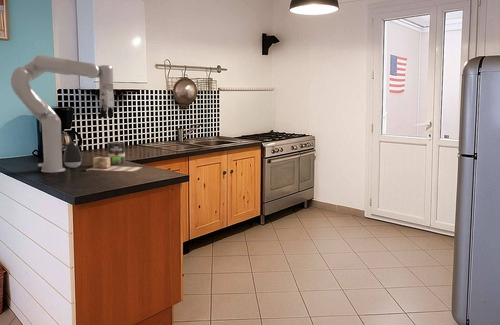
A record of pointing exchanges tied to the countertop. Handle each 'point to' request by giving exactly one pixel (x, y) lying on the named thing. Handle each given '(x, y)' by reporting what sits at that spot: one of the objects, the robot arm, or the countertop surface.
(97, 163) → the sanding block
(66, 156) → the grey egg shaped speaker
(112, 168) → the board
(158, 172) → the countertop surface
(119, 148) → the coffee can
